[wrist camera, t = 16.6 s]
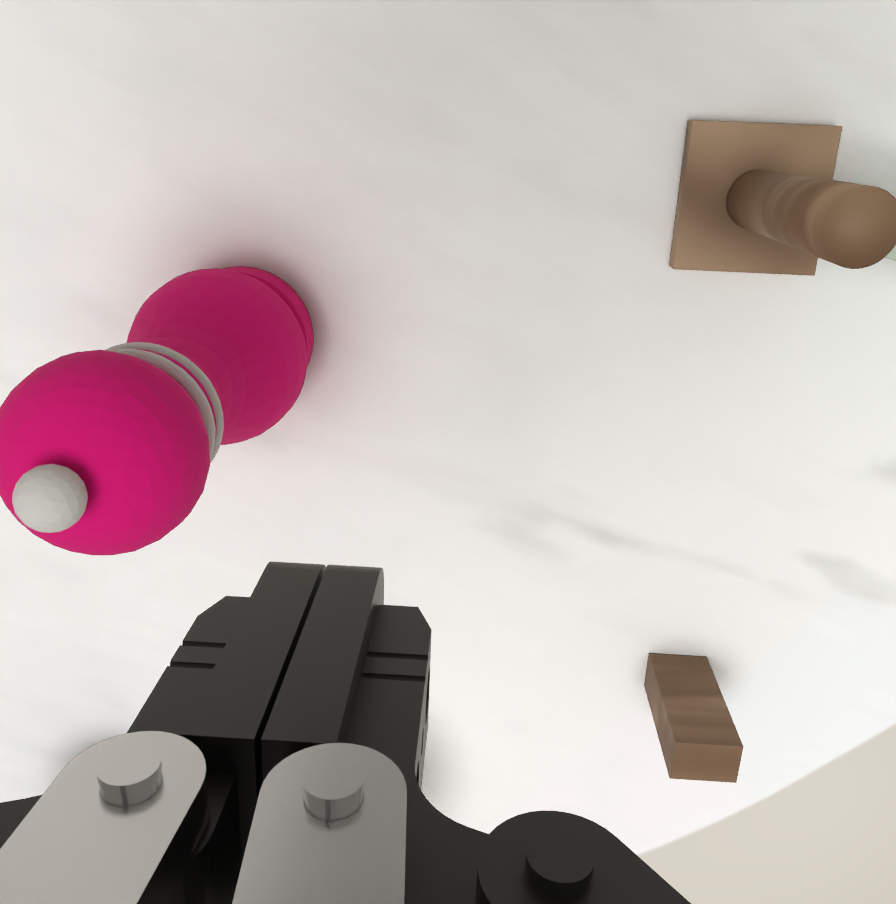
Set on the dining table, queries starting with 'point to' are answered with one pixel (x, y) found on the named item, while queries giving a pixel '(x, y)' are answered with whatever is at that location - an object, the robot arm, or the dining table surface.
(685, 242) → the wooden pieces
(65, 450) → the pepper mill
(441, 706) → the dining table surface
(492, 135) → the dining table surface
